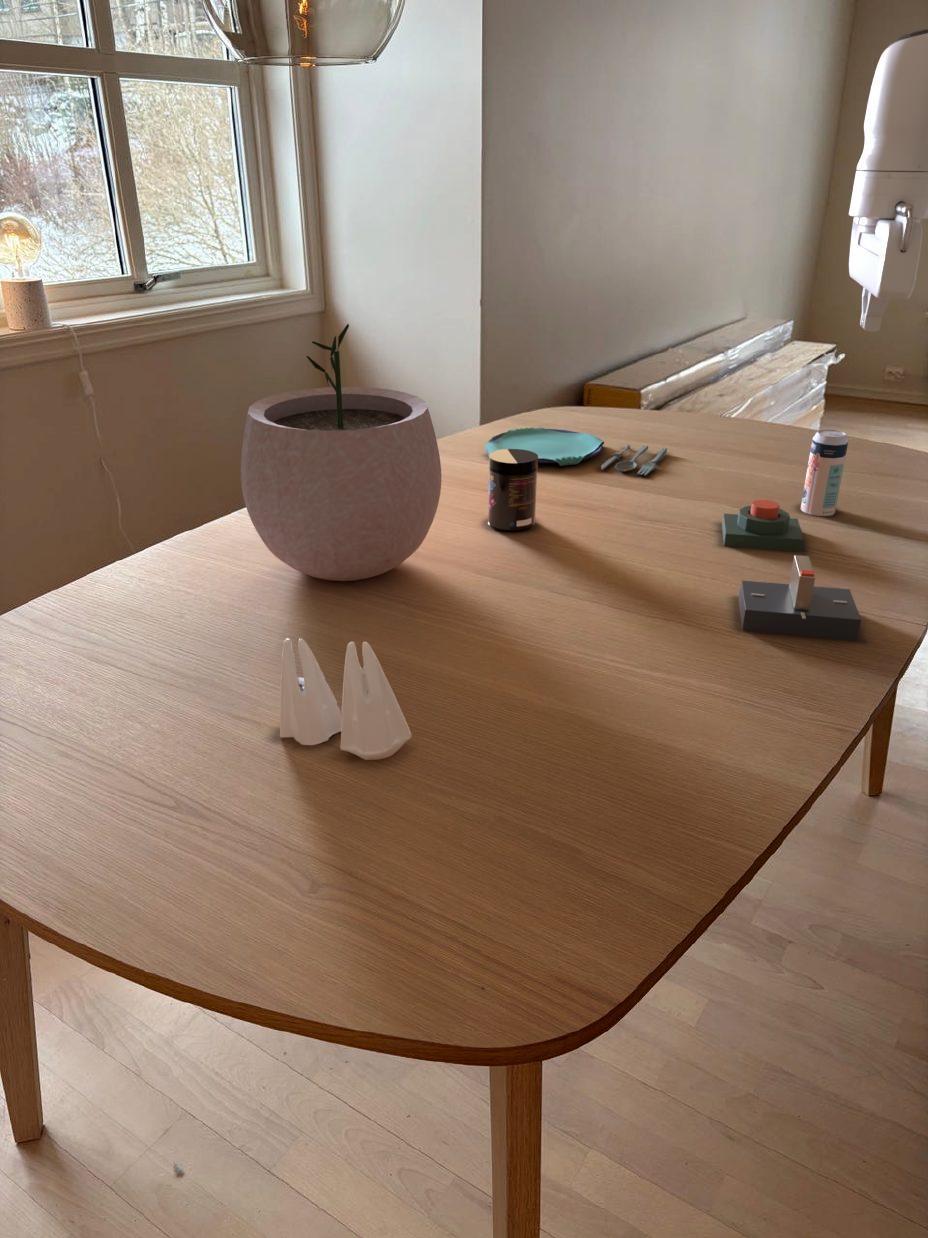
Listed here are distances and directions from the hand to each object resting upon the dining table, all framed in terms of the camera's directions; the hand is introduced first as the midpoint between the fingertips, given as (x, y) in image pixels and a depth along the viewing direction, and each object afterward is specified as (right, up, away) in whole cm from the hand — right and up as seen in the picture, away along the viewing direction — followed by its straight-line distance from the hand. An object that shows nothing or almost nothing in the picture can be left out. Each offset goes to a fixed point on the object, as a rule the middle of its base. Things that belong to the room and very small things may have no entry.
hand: (869, 329), depth 111 cm
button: (-7, -20, +17) cm, 27 cm away
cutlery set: (-29, -6, +53) cm, 61 cm away
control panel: (-10, -34, -4) cm, 36 cm away
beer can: (+5, -18, +29) cm, 34 cm away
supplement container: (-41, -21, +23) cm, 51 cm away
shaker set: (-58, -45, -26) cm, 78 cm away
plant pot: (-62, -28, +10) cm, 69 cm away
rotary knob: (-10, -31, -5) cm, 33 cm away
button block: (-7, -23, +19) cm, 31 cm away
